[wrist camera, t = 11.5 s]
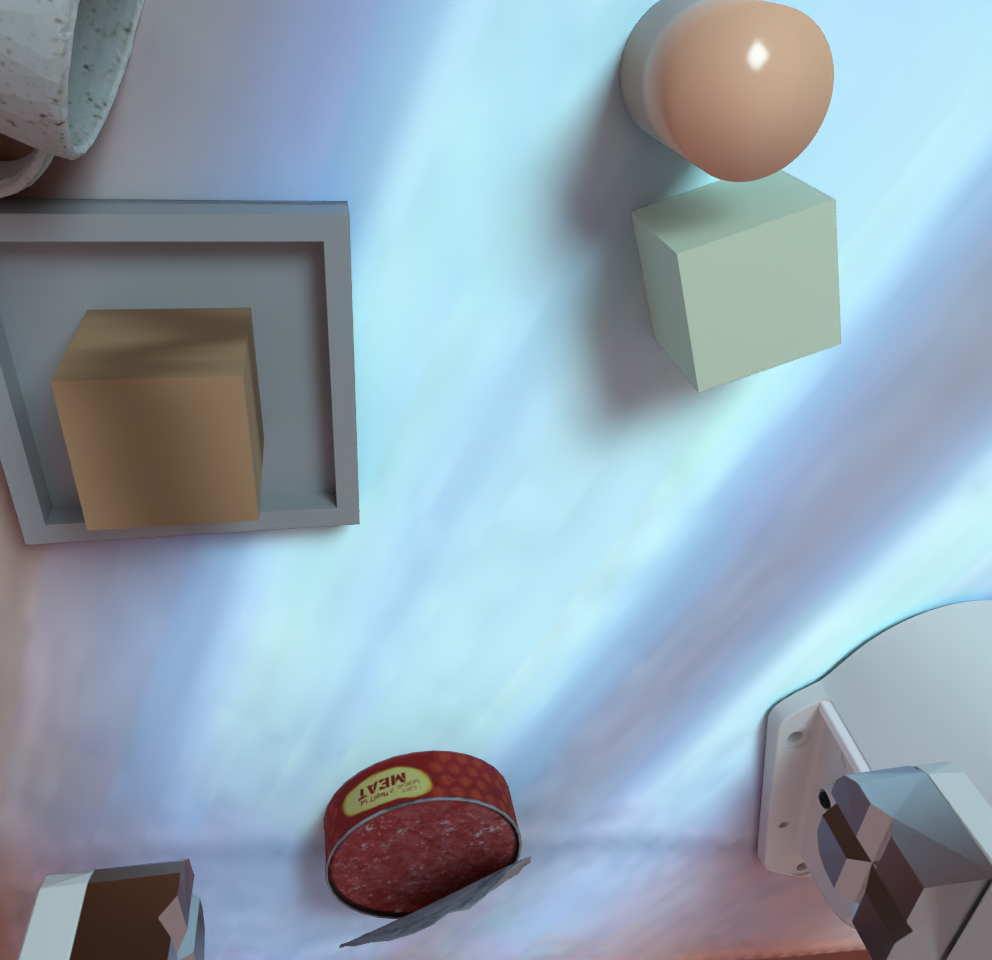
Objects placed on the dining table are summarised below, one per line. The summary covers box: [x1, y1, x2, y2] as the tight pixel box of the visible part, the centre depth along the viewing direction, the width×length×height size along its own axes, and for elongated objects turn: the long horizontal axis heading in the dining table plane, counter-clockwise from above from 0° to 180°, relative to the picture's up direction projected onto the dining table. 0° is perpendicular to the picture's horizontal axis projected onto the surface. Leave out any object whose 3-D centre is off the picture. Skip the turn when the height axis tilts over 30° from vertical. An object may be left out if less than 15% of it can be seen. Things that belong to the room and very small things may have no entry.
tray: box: [0, 199, 359, 545], centre depth 29 cm, size 12×12×2 cm
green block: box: [631, 170, 841, 393], centre depth 29 cm, size 5×5×4 cm
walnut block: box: [50, 307, 264, 531], centre depth 27 cm, size 5×5×5 cm
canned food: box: [324, 751, 531, 948], centre depth 43 cm, size 11×10×10 cm
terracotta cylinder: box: [620, 0, 834, 182], centre depth 25 cm, size 4×4×5 cm
